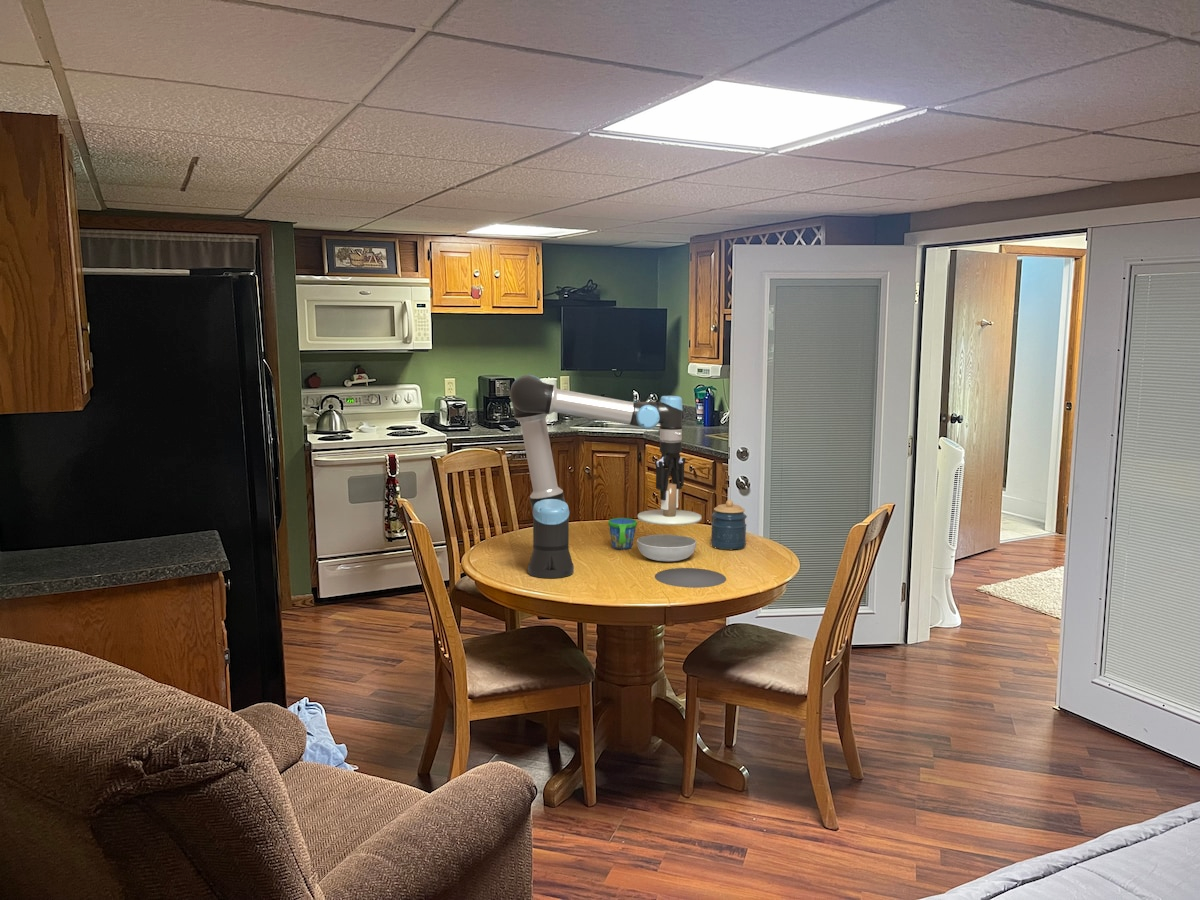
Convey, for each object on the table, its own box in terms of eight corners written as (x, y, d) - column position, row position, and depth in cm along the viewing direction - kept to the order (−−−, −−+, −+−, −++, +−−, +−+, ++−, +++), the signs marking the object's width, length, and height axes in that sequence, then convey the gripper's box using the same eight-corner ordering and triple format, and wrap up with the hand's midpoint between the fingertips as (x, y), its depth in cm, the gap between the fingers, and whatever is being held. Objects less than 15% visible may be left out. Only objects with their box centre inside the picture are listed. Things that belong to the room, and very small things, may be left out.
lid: (672, 528, 290) (673, 492, 288) (624, 517, 305) (624, 483, 304) (714, 518, 305) (715, 484, 303) (666, 509, 321) (667, 476, 319)
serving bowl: (706, 557, 313) (706, 538, 312) (678, 570, 295) (678, 550, 294) (655, 549, 324) (655, 531, 323) (625, 561, 307) (625, 541, 306)
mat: (696, 593, 268) (696, 591, 268) (639, 578, 284) (639, 577, 284) (740, 579, 285) (740, 577, 285) (685, 566, 301) (685, 564, 300)
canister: (734, 541, 337) (736, 496, 335) (752, 549, 325) (753, 502, 323) (704, 544, 332) (705, 498, 330) (721, 552, 320) (722, 504, 318)
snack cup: (634, 553, 317) (634, 525, 316) (605, 552, 319) (605, 524, 317) (638, 543, 333) (638, 516, 331) (610, 542, 334) (610, 515, 333)
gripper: (661, 444, 293) (660, 513, 296) (695, 440, 305) (694, 506, 308) (645, 442, 298) (644, 510, 301) (679, 438, 310) (677, 503, 313)
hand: (669, 508), depth 305 cm, fingers closed on lid, 4 cm apart
